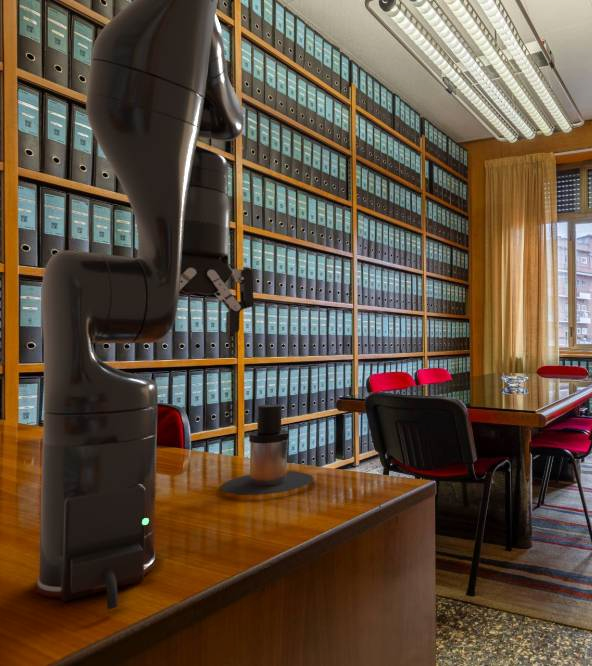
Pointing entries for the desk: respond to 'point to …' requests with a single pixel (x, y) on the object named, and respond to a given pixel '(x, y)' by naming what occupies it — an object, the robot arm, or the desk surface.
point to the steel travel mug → (268, 448)
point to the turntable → (244, 487)
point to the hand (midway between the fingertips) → (197, 336)
